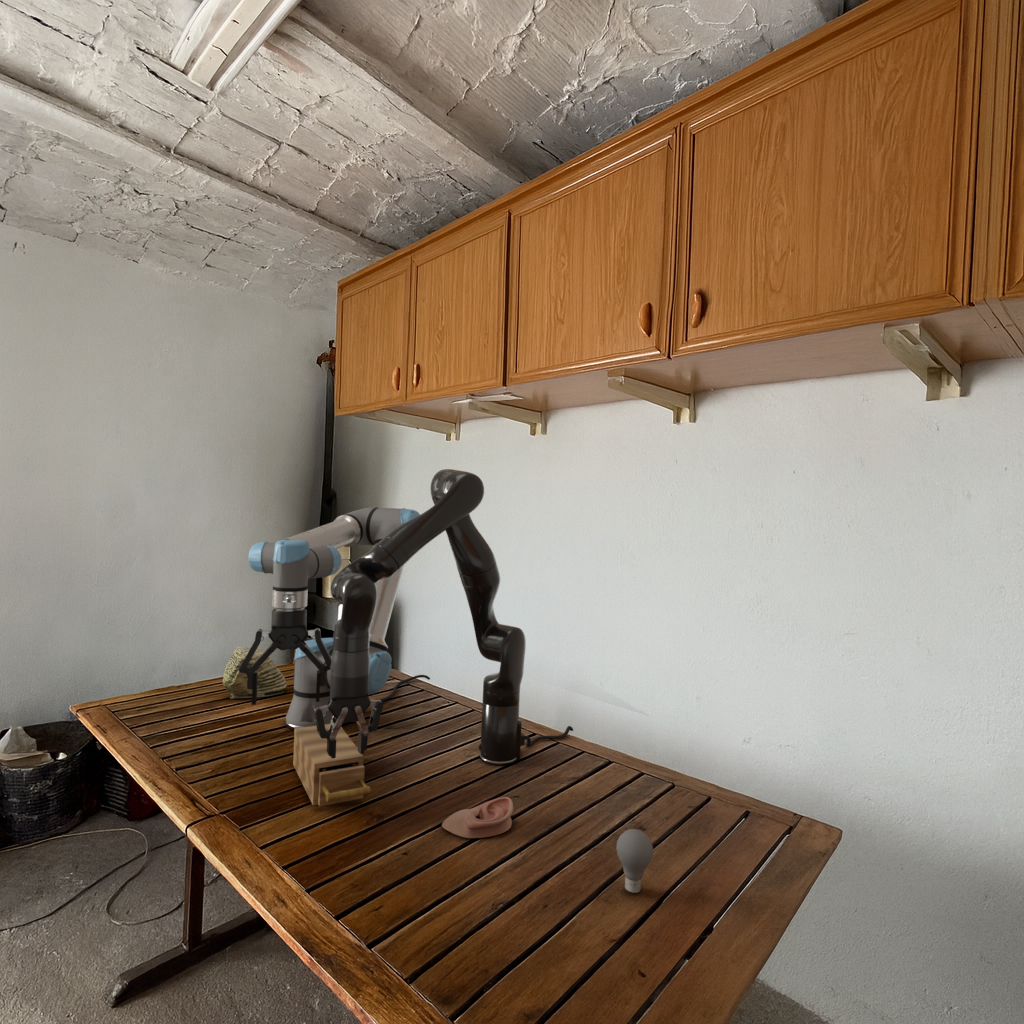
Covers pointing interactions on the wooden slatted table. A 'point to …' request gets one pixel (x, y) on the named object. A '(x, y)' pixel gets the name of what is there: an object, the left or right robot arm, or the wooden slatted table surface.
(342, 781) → the drawer
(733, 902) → the wooden slatted table surface
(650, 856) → the light bulb
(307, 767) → the cabinet
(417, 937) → the wooden slatted table surface
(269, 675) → the fossil
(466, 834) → the anatomical model
